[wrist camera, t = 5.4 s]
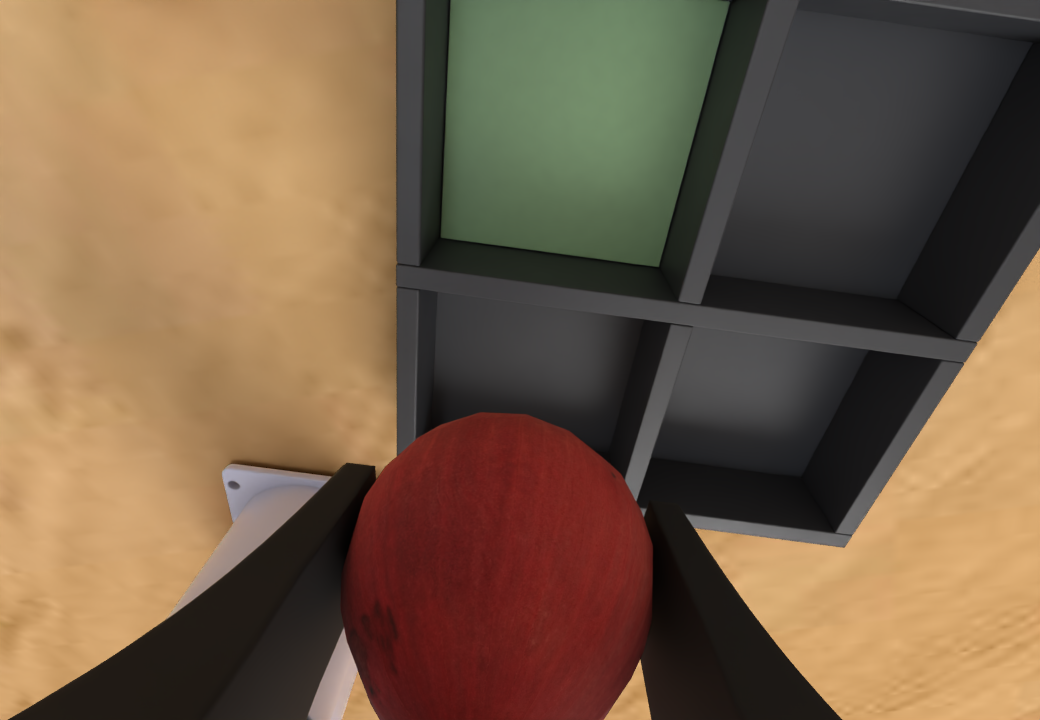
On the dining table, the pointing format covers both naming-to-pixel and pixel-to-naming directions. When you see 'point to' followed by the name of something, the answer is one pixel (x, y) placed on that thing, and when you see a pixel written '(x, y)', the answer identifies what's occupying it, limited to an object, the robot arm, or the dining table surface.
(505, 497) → the onion
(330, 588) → the robot arm
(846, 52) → the divided tray
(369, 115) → the dining table surface
